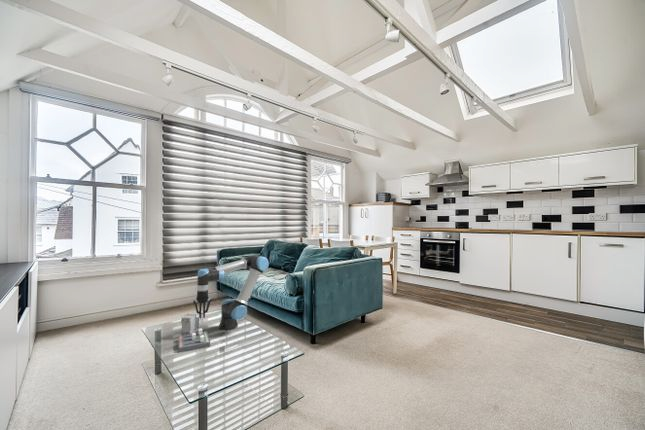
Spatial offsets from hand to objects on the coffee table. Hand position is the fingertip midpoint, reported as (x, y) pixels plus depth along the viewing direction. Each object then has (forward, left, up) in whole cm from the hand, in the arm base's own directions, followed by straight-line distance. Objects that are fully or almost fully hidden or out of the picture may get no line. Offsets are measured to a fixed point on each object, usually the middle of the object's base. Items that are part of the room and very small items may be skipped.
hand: (201, 322), depth 206 cm
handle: (0, -7, -11) cm, 13 cm away
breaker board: (+5, 0, -14) cm, 15 cm away
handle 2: (0, +7, -11) cm, 13 cm away
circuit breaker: (+6, -20, -15) cm, 26 cm away
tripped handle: (+5, 0, -11) cm, 12 cm away
